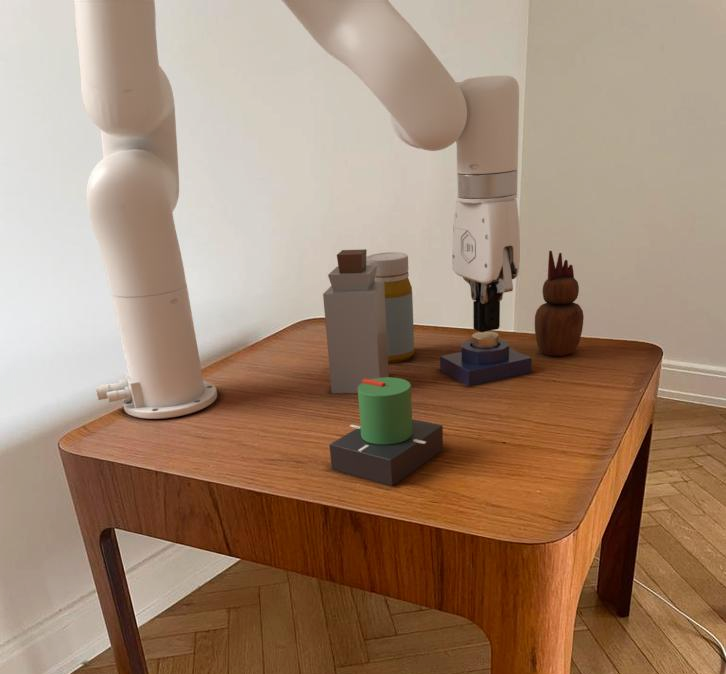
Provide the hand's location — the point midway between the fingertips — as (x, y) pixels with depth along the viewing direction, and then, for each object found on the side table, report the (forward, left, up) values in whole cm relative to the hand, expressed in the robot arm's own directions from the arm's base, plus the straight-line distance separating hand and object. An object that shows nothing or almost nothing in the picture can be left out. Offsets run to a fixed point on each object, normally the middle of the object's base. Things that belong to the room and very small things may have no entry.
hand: (486, 329), depth 103 cm
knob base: (-24, -19, -6) cm, 31 cm away
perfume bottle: (-17, +5, -6) cm, 19 cm away
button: (0, 0, -3) cm, 3 cm away
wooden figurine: (+13, +1, -6) cm, 14 cm away
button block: (0, 0, -6) cm, 6 cm away
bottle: (-8, +14, -6) cm, 17 cm away
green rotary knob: (-24, -19, -3) cm, 31 cm away
